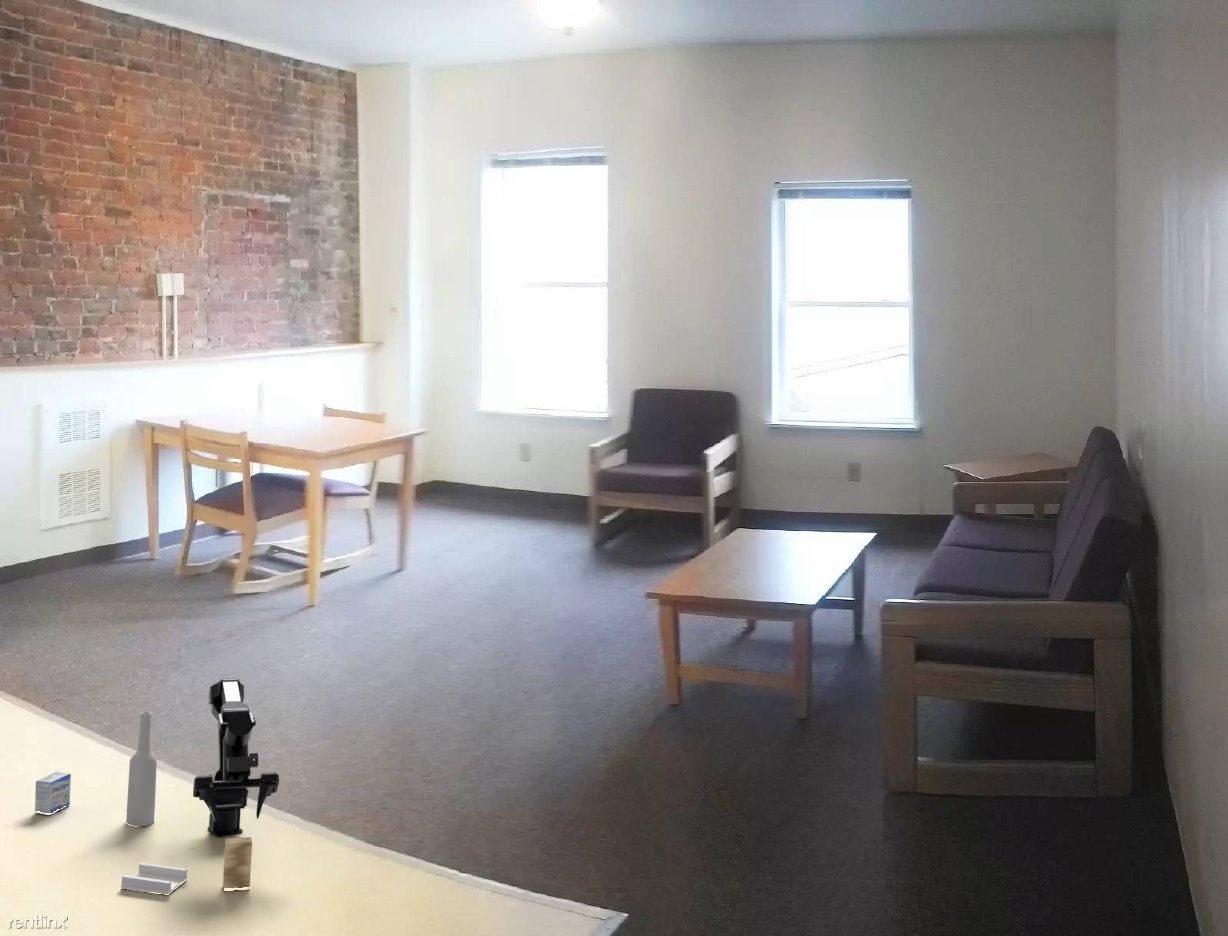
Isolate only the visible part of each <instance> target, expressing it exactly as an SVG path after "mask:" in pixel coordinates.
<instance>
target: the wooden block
mask: <svg viewBox="0 0 1228 936" xmlns="http://www.w3.org/2000/svg"><path fill="white" fill-rule="evenodd" d="M224 840H225V841H224V857H223V860H224V861H223V875H222V877H223V878H222V880H223V881H222V888H223V887H224V888H235V887H236V888H243V887H250V886H251V872H252V870H251V869H252V854H253V853H252V849H253V840H252V836H246V837H233V838H231V837H230V838H225V839H224ZM250 888H251V887H250Z"/></svg>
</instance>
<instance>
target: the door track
mask: <svg viewBox="0 0 1228 936" xmlns="http://www.w3.org/2000/svg"><path fill="white" fill-rule="evenodd" d="M138 865H139V866H138V873H137V874H135V875H128V874H124V875H122V876H121V886H120V890H122V889H128V890H132V891H131V892H135V891H140V892H139V893H142V892H155V893H161V894H169V893H170V892H171V891H172V890H173V889H174V888H176V887H177V886H178V885H179V884H180V883H181V882H183V881H184V880H185V879H187V880H188V868H183V867H177V866H169V865H162V864H155V863H147V862H140V863H139V864H138ZM128 890H127V891H128Z"/></svg>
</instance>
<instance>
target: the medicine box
mask: <svg viewBox="0 0 1228 936" xmlns="http://www.w3.org/2000/svg"><path fill="white" fill-rule="evenodd" d="M71 779H72V775H71V773H68V772H63V771H56V772H54V773H51V774H49V775H47V776H44V777H42V778H39V779H38V780H36V781H35V794H34V796H35V799H34V800H35V801H34V812H35V811H40V812H43V813H53V812H54V811H56V810H57V809H61V808H63V807H64V806H68V805H69V806H70V804H71ZM69 806H68V807H69Z"/></svg>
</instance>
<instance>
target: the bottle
mask: <svg viewBox="0 0 1228 936" xmlns="http://www.w3.org/2000/svg"><path fill="white" fill-rule="evenodd" d="M152 714H153V713H152V712H150V711H142V712H140V713H139V716H140V720H139V732H138V733H139V735H138V743H137V750H136V752H135V753H134V754H133V755H132V757H131V758H130V759H129V765H128V766H129V768H128V783H127V785H128V786H127V802H126V803H127V804H126V819H125V820H126V821H125V822H127V823H128V824H130V825H133V826H145V827H149V826H152V825H153V824H154V823H155V810H156V809H155V808H156V788H157V786H156V785H157V783H156V782H157V765H158V764H157V761H158V760H157V756H155V754H154V753H153V752H152V751H151V736H150V735H151V719H152V718H151V716H152ZM153 822H154V823H153ZM152 823H153V824H152ZM148 825H149V826H148Z"/></svg>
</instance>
